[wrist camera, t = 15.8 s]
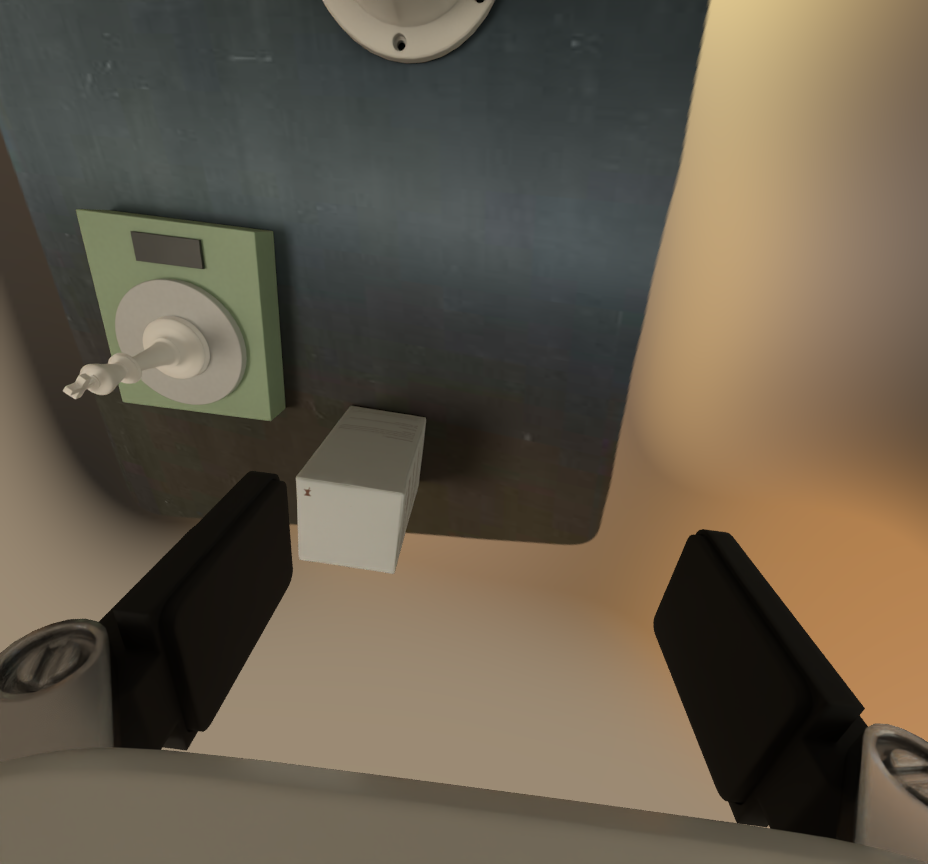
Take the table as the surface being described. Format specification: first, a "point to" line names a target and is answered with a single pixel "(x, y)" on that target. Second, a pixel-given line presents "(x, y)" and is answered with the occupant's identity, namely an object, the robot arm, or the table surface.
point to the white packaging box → (360, 490)
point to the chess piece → (149, 358)
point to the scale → (191, 306)
